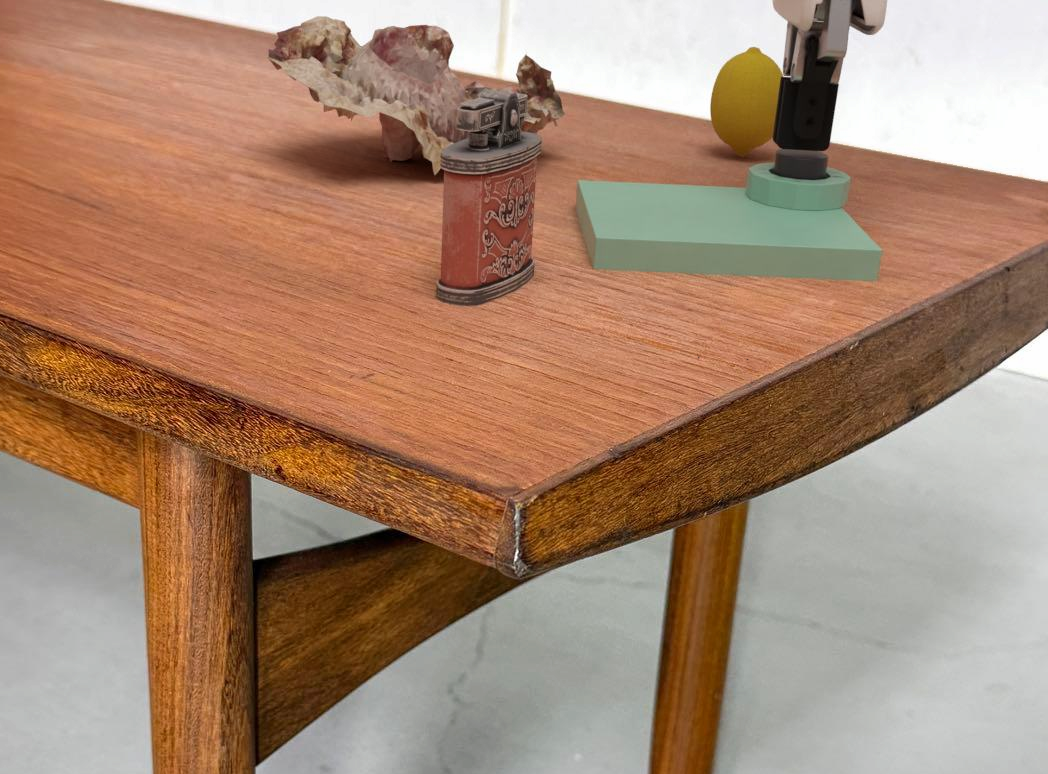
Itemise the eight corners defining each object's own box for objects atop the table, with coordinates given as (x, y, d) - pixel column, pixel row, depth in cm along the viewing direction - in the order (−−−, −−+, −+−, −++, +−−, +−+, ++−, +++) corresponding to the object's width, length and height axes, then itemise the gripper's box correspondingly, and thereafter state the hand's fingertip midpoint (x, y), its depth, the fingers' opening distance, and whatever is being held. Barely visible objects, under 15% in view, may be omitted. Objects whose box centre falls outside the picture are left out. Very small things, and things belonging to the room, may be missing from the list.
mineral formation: (291, 176, 94) (356, 35, 89) (220, 62, 104) (274, -70, 100) (564, 255, 108) (633, 136, 103) (477, 147, 118) (535, 35, 113)
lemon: (736, 146, 116) (748, 39, 113) (792, 159, 113) (807, 50, 109) (689, 153, 113) (701, 43, 109) (746, 167, 109) (760, 54, 106)
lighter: (491, 264, 82) (500, 78, 78) (547, 274, 81) (559, 86, 77) (421, 300, 76) (426, 99, 71) (480, 311, 75) (489, 108, 70)
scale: (828, 218, 96) (836, 164, 95) (887, 283, 83) (897, 221, 82) (574, 207, 95) (578, 152, 94) (593, 271, 82) (598, 208, 81)
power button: (818, 174, 94) (822, 149, 93) (829, 185, 91) (833, 160, 90) (768, 171, 93) (771, 146, 93) (778, 183, 91) (781, 157, 90)
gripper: (953, -179, 77) (891, 178, 85) (879, -181, 90) (832, 127, 98) (810, -189, 76) (761, 171, 84) (757, -190, 90) (720, 121, 98)
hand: (800, 146), depth 91 cm, fingers closed
